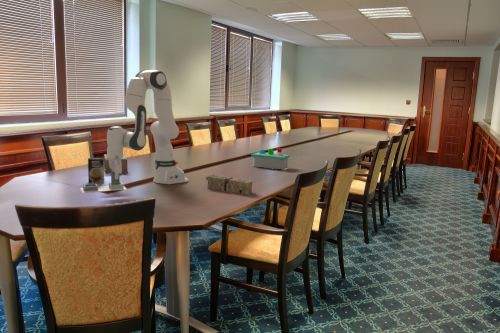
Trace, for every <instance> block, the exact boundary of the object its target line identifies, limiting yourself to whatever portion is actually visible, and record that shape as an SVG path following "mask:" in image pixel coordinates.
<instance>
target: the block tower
mask: <svg viewBox="0 0 500 333" xmlns="http://www.w3.org/2000/svg"><path fill="white" fill-rule="evenodd" d="M205 181H207V189H209V190H215V191H216V190H217V191H222V192H229V193H236V194H241V195H247V196H248V195H251V194H252V193H253V192H252V190H253V180H252V179H247V178H240V177H232V176H227V175H215V173H211V174H209V175H206V176H205Z"/></svg>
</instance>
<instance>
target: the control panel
mask: <svg viewBox="0 0 500 333" xmlns="http://www.w3.org/2000/svg"><path fill="white" fill-rule="evenodd" d="M276 150H277V151H276V153H274V148H268V150H267V152H265V149H260V150H259V152H254V153H252V154H251V155H250V156H251V157H252V158H253V161H252V166H255V167H254V168H260V167H264V168H263V169H268V168H273V169H272V170H277V169H285V168H288V162H289V158H291V155H290V154H284V153H283V152H282V151H283V148H282V147H277V148H276Z"/></svg>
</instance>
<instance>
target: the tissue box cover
mask: <svg viewBox="0 0 500 333" xmlns="http://www.w3.org/2000/svg"><path fill="white" fill-rule="evenodd" d="M103 158H104V173H105V174H106V175H107V174H109V175H111V170H112V169H111V168H110V167H109V160H108V158H107V153H105V154H103ZM121 164H122V172H121V173H120V174H128V158H127V156H126V155H125V153H123V158H121Z"/></svg>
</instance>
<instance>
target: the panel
mask: <svg viewBox="0 0 500 333" xmlns="http://www.w3.org/2000/svg"><path fill="white" fill-rule="evenodd" d="M121 190H122V191H124V190H127V187H126V186H125V185H124V183H123V182H122V181H120V184H117V185H112V184H111V182H108V185H103V186H99V185H98V183H85V184H84V183H83V184H82V187H80V191H81V193H82V194H83V193H84V194H85V193H94V192H95V193H97V192H109V191H110V192H111V191H121Z"/></svg>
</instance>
